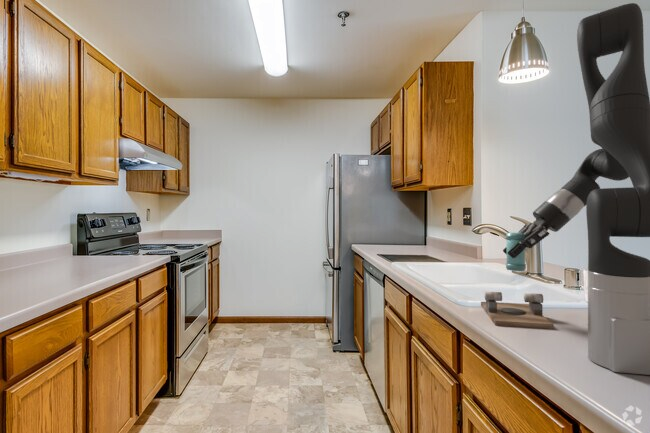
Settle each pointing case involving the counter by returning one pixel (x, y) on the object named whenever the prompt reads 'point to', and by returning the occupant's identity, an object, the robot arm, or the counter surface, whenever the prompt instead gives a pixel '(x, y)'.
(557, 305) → the counter surface
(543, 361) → the counter surface
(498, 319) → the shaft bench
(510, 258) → the cylinder
